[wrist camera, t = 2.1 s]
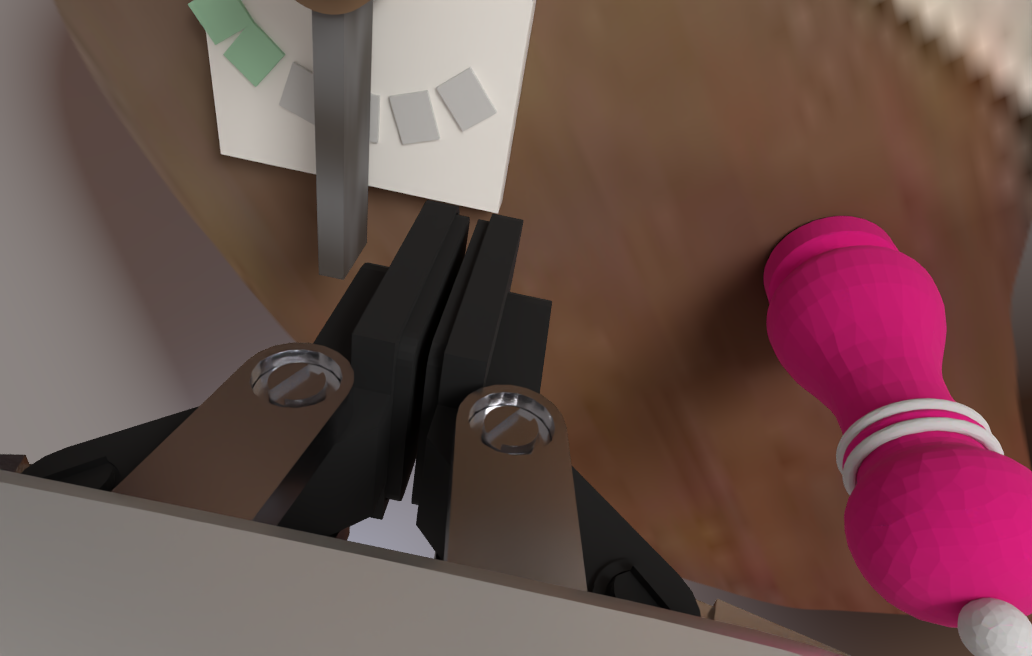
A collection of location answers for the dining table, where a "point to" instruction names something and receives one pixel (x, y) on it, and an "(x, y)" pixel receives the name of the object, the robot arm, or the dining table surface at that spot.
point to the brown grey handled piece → (341, 128)
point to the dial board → (380, 90)
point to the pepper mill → (904, 434)
